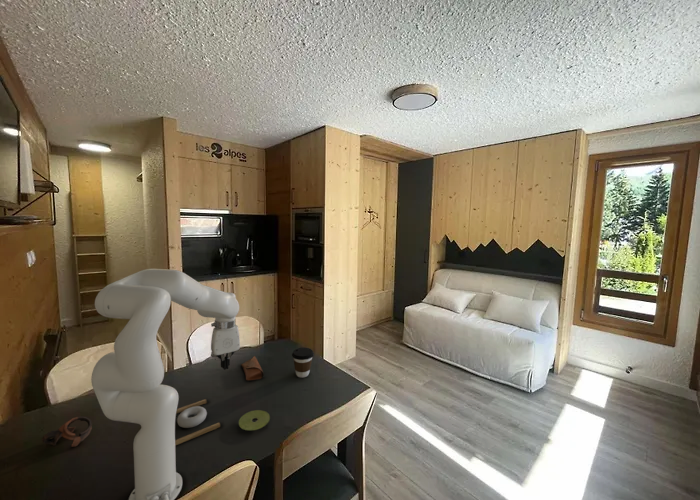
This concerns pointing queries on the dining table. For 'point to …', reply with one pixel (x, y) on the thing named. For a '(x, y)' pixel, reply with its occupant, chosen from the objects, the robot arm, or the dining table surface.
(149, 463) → the robot arm
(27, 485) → the dining table surface
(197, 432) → the frame
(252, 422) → the mat
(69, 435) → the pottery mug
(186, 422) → the donut
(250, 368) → the sunglasses case
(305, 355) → the coffee cup
